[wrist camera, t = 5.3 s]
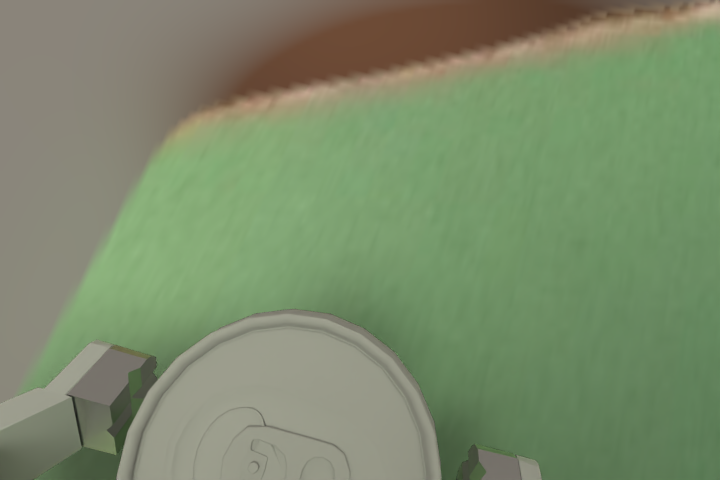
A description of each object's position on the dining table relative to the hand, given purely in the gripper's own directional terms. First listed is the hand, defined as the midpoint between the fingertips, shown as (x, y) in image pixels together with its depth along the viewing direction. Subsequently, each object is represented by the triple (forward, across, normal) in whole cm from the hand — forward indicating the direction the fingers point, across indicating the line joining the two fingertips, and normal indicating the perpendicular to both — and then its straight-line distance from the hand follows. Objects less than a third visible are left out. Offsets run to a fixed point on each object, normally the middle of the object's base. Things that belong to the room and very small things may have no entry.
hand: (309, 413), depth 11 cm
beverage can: (+5, 0, +5) cm, 7 cm away
